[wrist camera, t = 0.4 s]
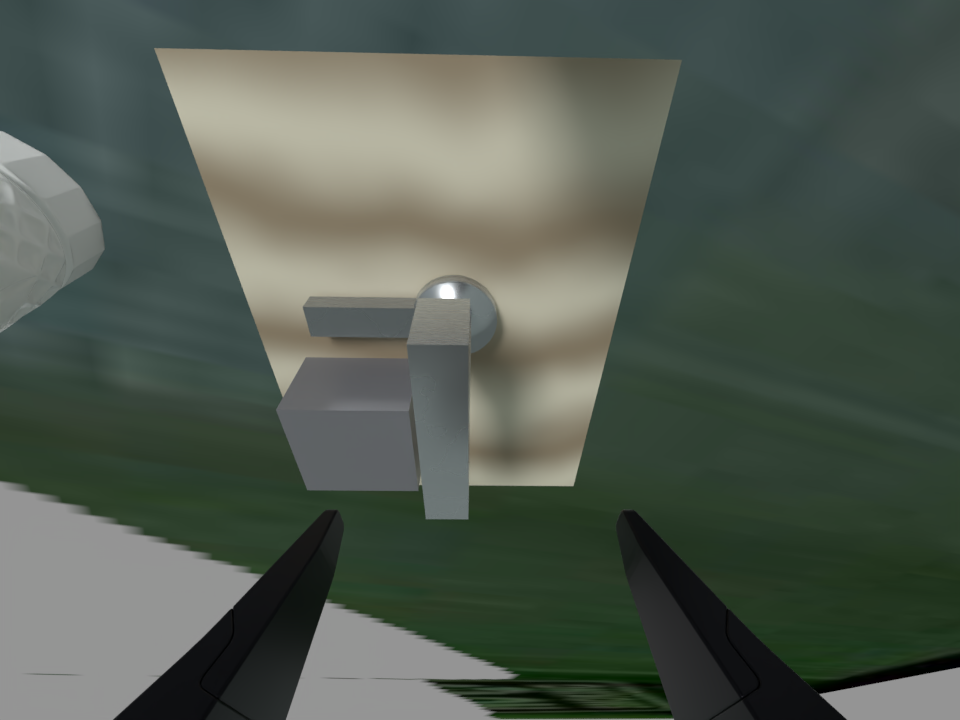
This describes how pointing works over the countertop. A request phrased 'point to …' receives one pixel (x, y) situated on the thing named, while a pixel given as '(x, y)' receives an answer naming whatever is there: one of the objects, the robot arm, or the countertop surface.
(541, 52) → the countertop surface
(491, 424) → the panel
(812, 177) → the countertop surface
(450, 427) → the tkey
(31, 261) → the white cup
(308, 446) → the cover
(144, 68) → the countertop surface
